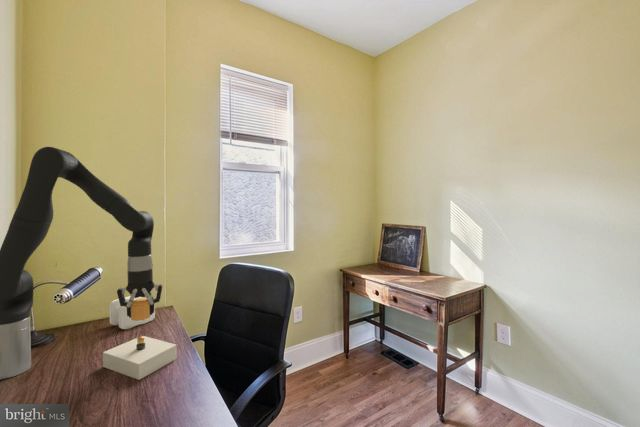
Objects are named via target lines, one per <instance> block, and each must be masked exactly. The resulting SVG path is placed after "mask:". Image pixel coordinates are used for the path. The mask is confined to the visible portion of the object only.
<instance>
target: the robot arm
mask: <svg viewBox="0 0 640 427" xmlns="http://www.w3.org/2000/svg"><path fill="white" fill-rule="evenodd" d="M58 178H61V179H64V180H66V181H67V182H70V183H72V184H73V185H74V186H77V187H78V188H79V189H80V190H81V191H83V192H84V193H85V194H86V195H87V196H88V197H89V199H90V200H91V201H92V202H93V203H94V204H95V205H96V206H98V207H99V208H101V209H102V210H104V211H105V212H107V214H110V215H111V216H112V217H113V218H114V219H115V220H116V222H118V223H119V224H120V226H122V227H124V229H126V230H127V231H129V232H132V234H131V238H130V239H129V241H128V242H127V261H126V262H127V263H126V266H127V267H126V269H127V272H126V273H127V285H126V286H125V287H119V288H118V289H117V290H116V293H117V294H116V295H117V297H118V298H117V299H119V302H120V306H125V307H127V316H129V318H131V304H132V302H133V300H134V298H138V297H144V298H147V300H148V301H149V303H150V315H152V313H154V304H155V305H156V303H159V302H160V300H161V297H162V296H161V295H162V290H163V287H164V286H163V284H162V283H160V284H155V283H154V282H153V280H154V278H153V276H154V274H153V273H154V272H153V270H154V269H153V267H154V264H153V258H152V256H153V255H152V238H153V232H154V225H155V223H154V222H155V220H154V218H153V216H152V214H151V213H150V212H148V211H141V210H140V211H139V210H137V209H136V208H134V207H133V206H131V203H130V201H129V200H128V199H127V198H125V197H124V196H123V195H121V194H120V193H119V192H117V191H116V190H115V189H113V188H112V187H110V186H109V185H108V184H106V183H105V182H104V181H102V180H101V179H99V178H98V177H96V175H95V174H93V173H92V172H91V171H90V170H89V169H88V168H87V167H86V166H85V165H84V164H83V163H82V162H81V161H80V160H79V159H78V158H77V157H76V156H75V155H73V153H71V152H69V151H66V150H64V149H63V150H62V149H59V148H57V147H54V146H44V147H41V148H39V149H38V150H36V152H35V153H34V154H33V157H32V159H31V162H30V166H29V171H28V174H27V178H26V182H25V185H24V188H23V190H22V193H21V196H20V198H19V201H18V203H17V207H16V208H15V210H14V213H13V216H12V217H11V220H10V223H9V225H8V230H7V231H6V233H5V234H6V235H5V236H4V239H3V241H2V244H1V246H0V381H1V380H4V379H9V378H13V377H15V376H19V375H22V374H23V373H26V372H27V371H28V370H30V369H31V367H32V348H31V347H32V346H31V345H32V343H31V340H32V339H31V310H32V307H33V305H34V288H35V285H34V279H33V276H32V274H31V273H30V272H29V271H27V270H26V269H24V268H25V266H26V263H27V262H28V260H29V259H30V257H31V256H32V255H33V253H34V252H36V250H37V249H38V248H39V246H40V245H41V244H42V243H43V241H44V240H45V238H46V237H47V234H48V232H49V230H50V228H51V225H52V222H53V220H54V207H53V199H52V198H53V191H54V188H55V185H56V183H57V180H58ZM153 289H155V292H157V293H156V296H155V298H154V297H153V294H152V292H151V291H152V290H153ZM126 291H127V293H128V294H130V299H129V301H128V302H126V301H125V297H126V296H125V294H126Z"/></svg>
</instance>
